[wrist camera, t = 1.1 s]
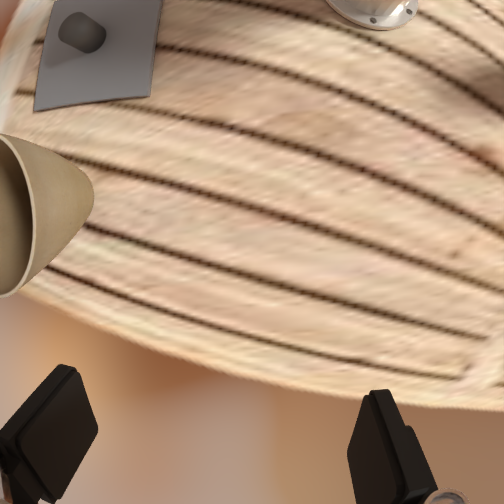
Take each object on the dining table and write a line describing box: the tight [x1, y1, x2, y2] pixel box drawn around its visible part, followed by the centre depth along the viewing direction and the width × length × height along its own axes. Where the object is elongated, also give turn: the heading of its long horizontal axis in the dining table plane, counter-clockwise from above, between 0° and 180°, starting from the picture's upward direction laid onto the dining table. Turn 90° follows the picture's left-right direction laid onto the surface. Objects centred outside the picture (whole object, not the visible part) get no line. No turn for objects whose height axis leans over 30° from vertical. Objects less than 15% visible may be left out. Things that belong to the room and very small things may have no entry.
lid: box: [34, 0, 163, 111], centre depth 28 cm, size 17×17×6 cm
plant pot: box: [0, 133, 94, 299], centre depth 28 cm, size 15×15×16 cm
